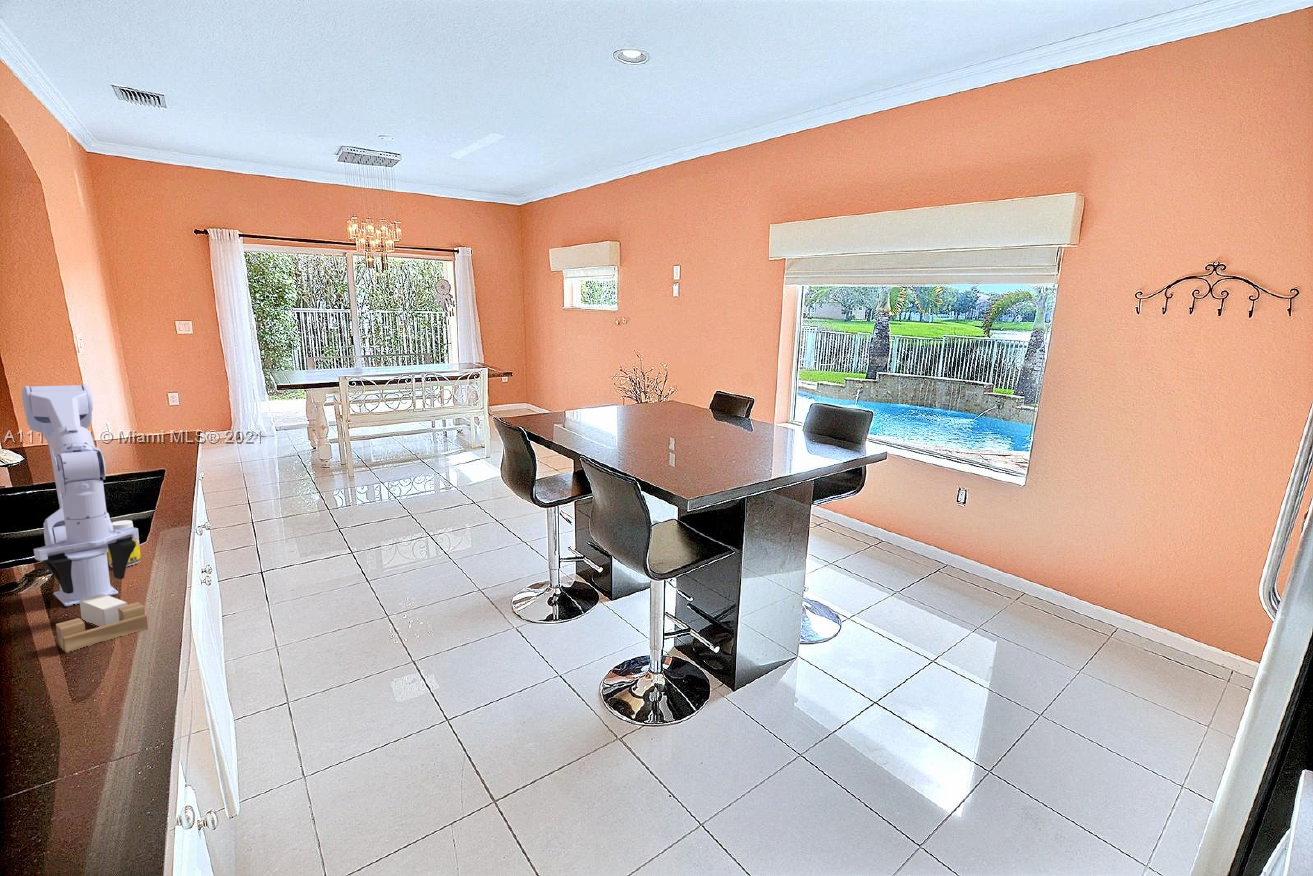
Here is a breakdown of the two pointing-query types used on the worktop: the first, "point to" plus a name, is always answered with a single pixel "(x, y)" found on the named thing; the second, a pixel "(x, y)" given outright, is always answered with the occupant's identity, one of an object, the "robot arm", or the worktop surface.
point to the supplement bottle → (135, 553)
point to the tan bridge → (101, 628)
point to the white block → (100, 609)
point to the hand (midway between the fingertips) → (94, 584)
